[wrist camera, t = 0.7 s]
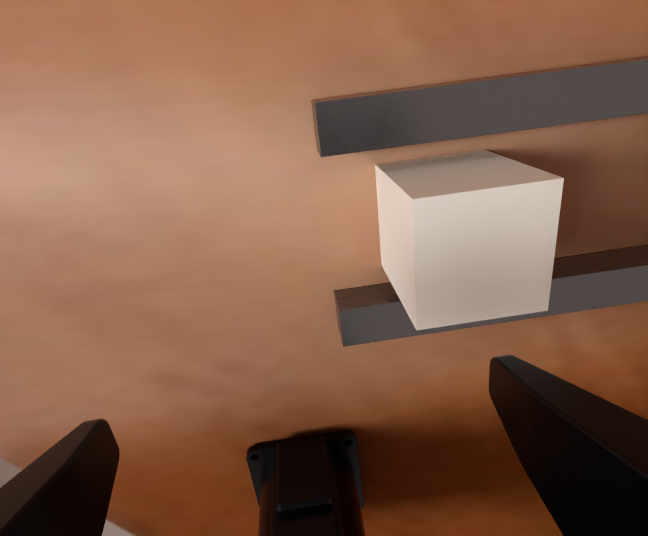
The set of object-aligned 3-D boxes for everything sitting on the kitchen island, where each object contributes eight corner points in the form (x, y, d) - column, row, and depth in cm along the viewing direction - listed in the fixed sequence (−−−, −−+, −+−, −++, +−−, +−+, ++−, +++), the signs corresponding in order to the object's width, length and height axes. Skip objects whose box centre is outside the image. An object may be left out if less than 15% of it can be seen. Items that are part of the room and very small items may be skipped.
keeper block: (479, 250, 21) (547, 310, 16) (381, 264, 21) (416, 330, 16) (483, 149, 19) (563, 178, 14) (374, 164, 19) (412, 199, 14)
